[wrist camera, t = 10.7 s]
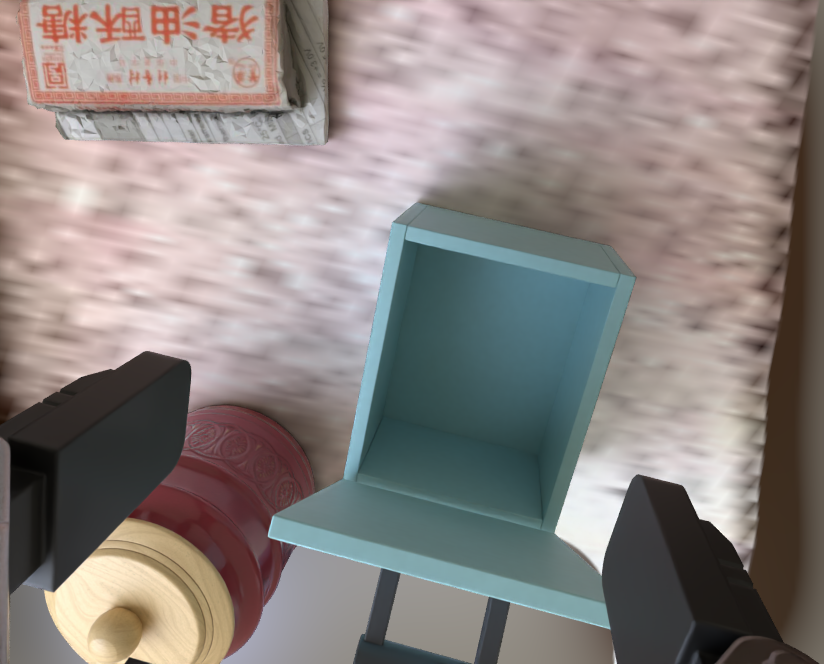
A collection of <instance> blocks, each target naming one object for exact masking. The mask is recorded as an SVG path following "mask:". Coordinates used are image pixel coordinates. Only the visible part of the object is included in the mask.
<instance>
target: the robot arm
mask: <svg viewBox="0 0 824 664" xmlns="http://www.w3.org/2000/svg"><path fill="white" fill-rule="evenodd" d="M190 384H191V366H190V364H189V362H188V361H186V360H182V359H178V358H174V357H170V356H166V355H162V354H158V353H154V352H150V351H145V352H143V353H141V354H140V355H138V356H136V357H135V358H133V359H132V360H130V361H128V362H127V363H125V364H124V365H122V366H120V367H119V368H117V369H116V370H112V369H109V370H105V371H102V372H98V373H94V374H91V375H87V376H83V377H81V378H79V379H77V380H76V381H74V382H72V383H71V384H69V385H67V386H65V387H64V388H62V389H61V390H60V393H59V392H55V393H54V394H52V395H50V396H49V397H47V398H45V399H43V402H42V403H40V402H38V403H37V404H35V405H33V406H32V407H30V408H28V409H27V410H25V411H23V412H22V413H20V414H18V415H16V416H15V417H13V418H11V419H10V420H8V421H6V422H5V423H3V424H1V425H0V664H9V648H10V647H9V645H10V643H9V641H10V594H11V593H13V592H14V591H15V590H16V589H17V588H18V587H19V586H20V585H21V584H25V585H29V586H32V587H35V588H39V589H43V590H46V591H50V592H53V593H54V592H55V591H56V590H57V589H58V588H59V587H60V586H61V585H62V584H63V583H64V582H65V581H66V580H67V579H68V578H69V577H70V576H71V575H72V574H73V573H74V572H75V571H76V569H77V568H78V567H79V566H80V565H81V564H82V563H83V562H84V561H85V560H86V559H87V558H88V557H89V556H90V555H91V554H92V553H93V552H94V551H95V550H96V549H97V548H98V547H99V546H100V545H101V544H102V543H103V542H104V541H105V540H106V539H107V538H108V537H109V536H110V535H111V534H112V533H113V532H114V530H115V529H116V528H117V527H118V526H119V525H120V524H121V523H122V522H123V521H124V520H125V519H126V518H127V517H128V516H129V515H130V514H131V513H132V512H133V511H134V510H135V509H136V508H137V507H138V506H139V505H140V504H141V503H142V502H143V501H144V500H145V499H146V498H147V497H148V496H149V495H150V494H151V492H152V491H153V490H154V489H155V488H156V487H157V486H158V485H159V484H160V483H161V482H162V481H163V480H164V479H165V478H166V477H167V476H168V475H169V474H170V473H171V472H172V470H173V469H174V468H175V466H176V464H177V462H178V460H179V458H180V456H181V453H182V450H183V446H184V442H185V434H186V424H187V414H188V404H189V394H190ZM743 567H744V565H743V564H742V562H741V560H740V558H739V556H738V554H737V552H736V550H735V548H734V546H733V544H732V543H731V542H730V541H729V540H728V539H727V538H726V537H725V536H724V535H723V534H722V533H721V532H720V531H719V530H718V529H717V528H716V527H715V526H714V525H713V524H712V523H711V522H709V521H705V520H701V519H699V518H698V516H697V514H696V511H695V509H694V507H693V505H692V503H691V501H690V499H689V496H688V494H687V492H686V490H685V488H684V487H683V486H682V485H679V484H675V483H671V482H667V481H663V480H659V479H655V478H651V477H647V476H643V475H639V474H638V475H636V476H635V477H634V478H633V479H632V481H631V483H630V485H629V488H628V490H627V493H626V496H625V499H624V502H623V504H622V507H621V510H620V513H619V516H618V518H617V521H616V524H615V527H614V530H613V532H612V535H611V538H610V541H609V544H608V546H607V550H606V553H605V557H604V562H603V569H602V588H603V593H604V598H605V603H606V609H607V614H608V619H609V624H610V629H611V634H612V640H613V645H614V650H615V655H616V660H617V664H819V663H818V662H816V661H815V660H813V659H812V658H810V657H809V656H808V655H806V654H804V653H802V652H801V651H799V650H797V649H795V648H793V647H791V646H789V645H787V644H785V643H784V642H783V640H782V638H781V637H780V635H779V633H778V631H777V629H776V627H775V625H774V623H773V621H772V619H771V617H770V615H769V614H768V612H767V610H766V608H765V606H764V604H763V602H762V600H761V598H760V596H759V594H758V592H757V591H756V589H753V583H752V581H751V579H750V577H749V575H748V573H747V571H746V570H743ZM125 664H152V663H148V662H145V661H141V660H138V659H134V658H131V657H129V658H128V660H127V661H126V662H125Z"/></svg>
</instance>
